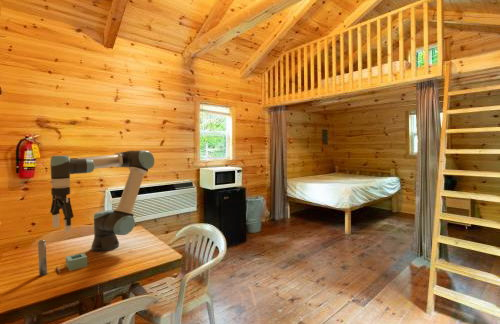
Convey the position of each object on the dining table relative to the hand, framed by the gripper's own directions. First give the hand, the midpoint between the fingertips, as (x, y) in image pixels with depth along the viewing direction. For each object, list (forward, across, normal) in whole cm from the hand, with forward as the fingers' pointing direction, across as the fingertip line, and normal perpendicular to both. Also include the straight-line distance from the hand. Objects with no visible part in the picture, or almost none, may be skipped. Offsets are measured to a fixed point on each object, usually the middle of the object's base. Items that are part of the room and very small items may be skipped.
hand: (61, 229), depth 129 cm
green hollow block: (+22, -4, +8) cm, 23 cm away
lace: (+22, -5, 0) cm, 22 cm away
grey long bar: (+22, -7, -6) cm, 24 cm away
